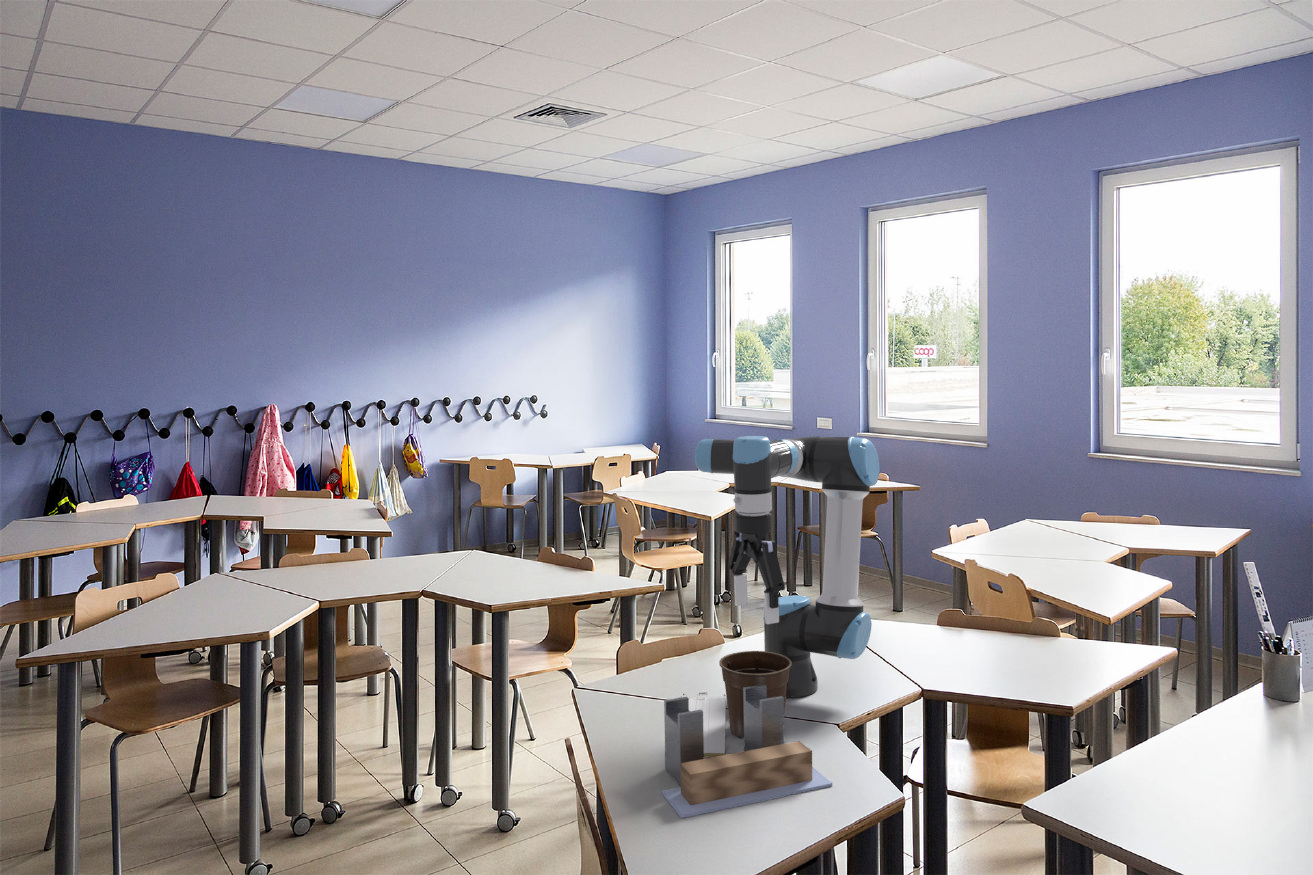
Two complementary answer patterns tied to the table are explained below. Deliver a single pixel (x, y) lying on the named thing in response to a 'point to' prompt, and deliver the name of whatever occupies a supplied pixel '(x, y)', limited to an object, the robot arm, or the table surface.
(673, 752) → the stand
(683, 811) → the felt pad
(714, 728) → the baseboard molding
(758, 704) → the stand
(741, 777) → the oak rail
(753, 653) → the plant pot
